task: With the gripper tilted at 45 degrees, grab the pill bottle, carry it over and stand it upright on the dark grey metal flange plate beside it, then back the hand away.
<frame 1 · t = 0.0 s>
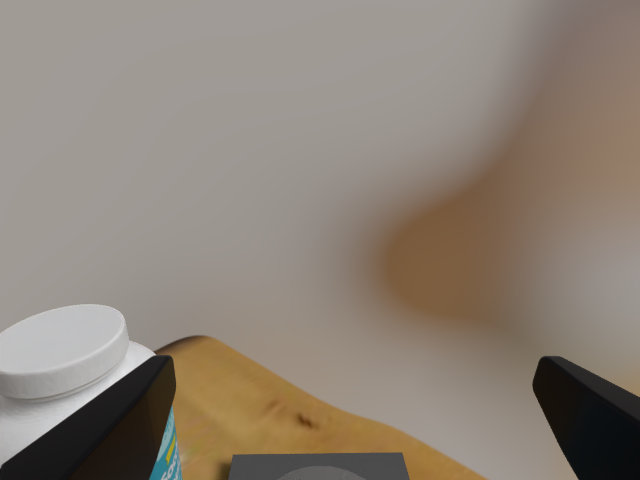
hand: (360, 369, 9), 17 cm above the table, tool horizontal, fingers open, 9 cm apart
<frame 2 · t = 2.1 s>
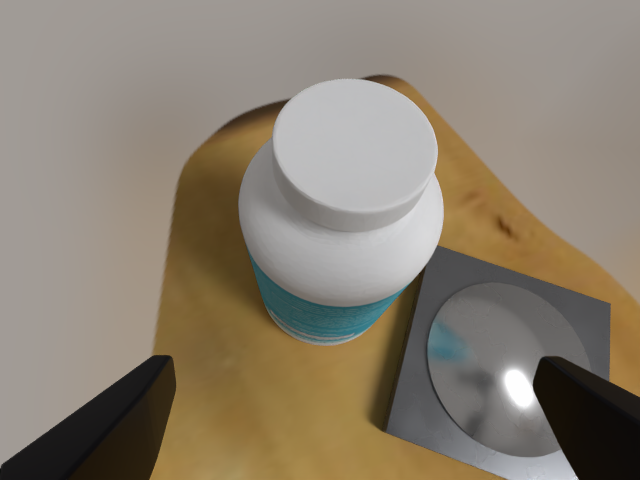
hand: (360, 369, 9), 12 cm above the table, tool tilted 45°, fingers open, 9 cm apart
pill bottle: (322, 285, 23), on the table
flange plate: (498, 364, 21), on the table
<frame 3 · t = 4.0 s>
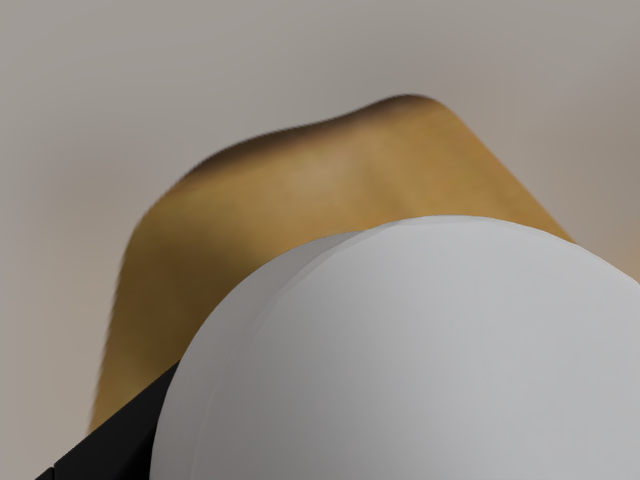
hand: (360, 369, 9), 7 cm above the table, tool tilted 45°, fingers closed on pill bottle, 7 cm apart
pill bottle: (333, 420, 15), on the table, touching gripper
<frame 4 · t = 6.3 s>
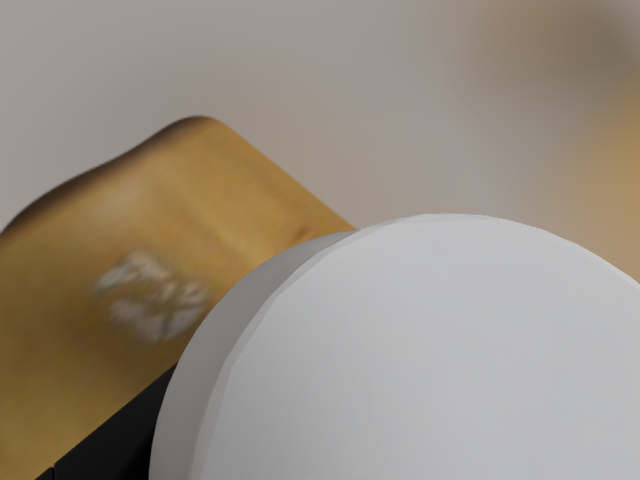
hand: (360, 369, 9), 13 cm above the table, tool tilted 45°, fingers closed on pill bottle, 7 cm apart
pill bottle: (333, 418, 15), point 5 cm above the table, touching gripper
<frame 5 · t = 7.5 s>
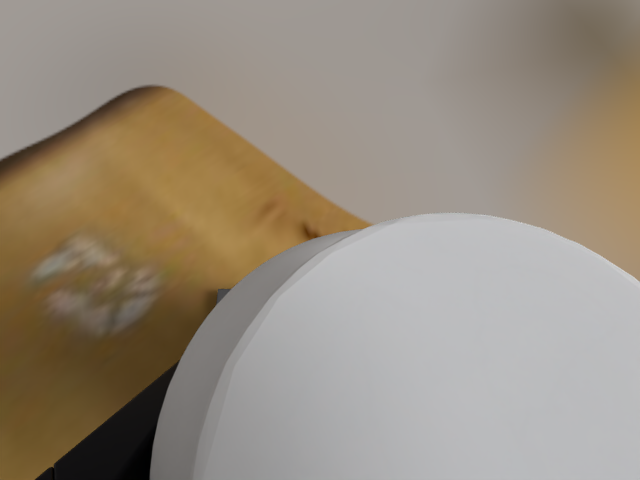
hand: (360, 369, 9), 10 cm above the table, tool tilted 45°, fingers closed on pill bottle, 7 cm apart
pill bottle: (333, 418, 15), point 2 cm above the table, touching gripper
when the fingers open (9 cm above the table, at t = 8.7 s): pill bottle stays where it is, resting on flange plate.
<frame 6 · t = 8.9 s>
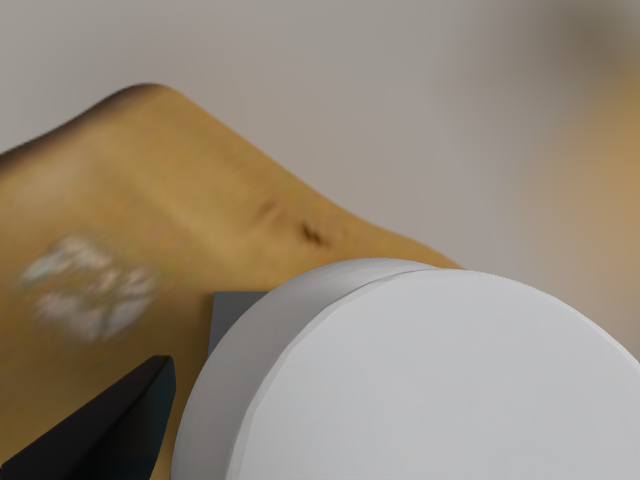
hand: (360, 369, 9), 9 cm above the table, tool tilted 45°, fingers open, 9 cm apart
pill bottle: (334, 424, 16), point 1 cm above the table, touching flange plate
flange plate: (329, 417, 17), on the table
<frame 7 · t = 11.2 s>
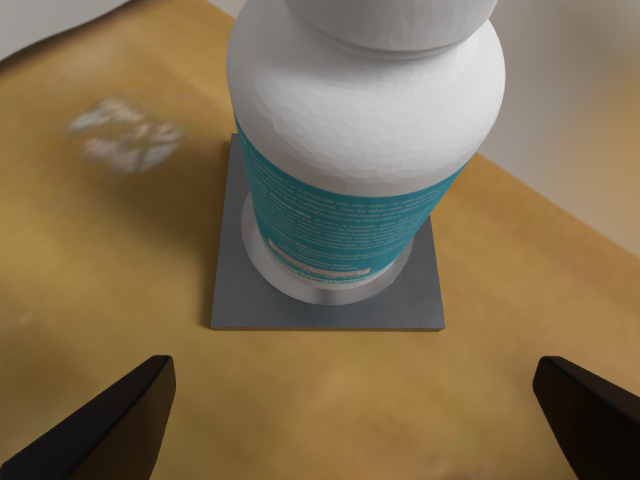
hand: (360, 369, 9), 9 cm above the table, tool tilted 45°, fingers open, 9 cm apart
pill bottle: (330, 225, 19), point 1 cm above the table, touching flange plate
flange plate: (327, 229, 20), on the table
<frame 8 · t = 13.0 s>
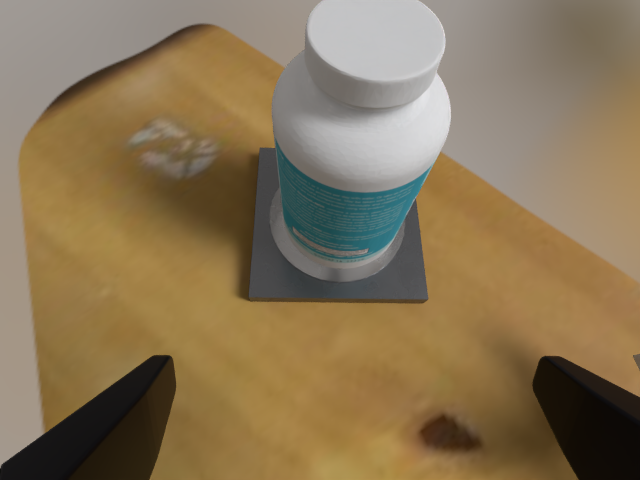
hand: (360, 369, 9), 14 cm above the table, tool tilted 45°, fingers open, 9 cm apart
pill bottle: (339, 220, 25), point 1 cm above the table, touching flange plate
flange plate: (336, 224, 26), on the table
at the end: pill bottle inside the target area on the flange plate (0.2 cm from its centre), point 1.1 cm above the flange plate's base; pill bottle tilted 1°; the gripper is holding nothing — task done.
